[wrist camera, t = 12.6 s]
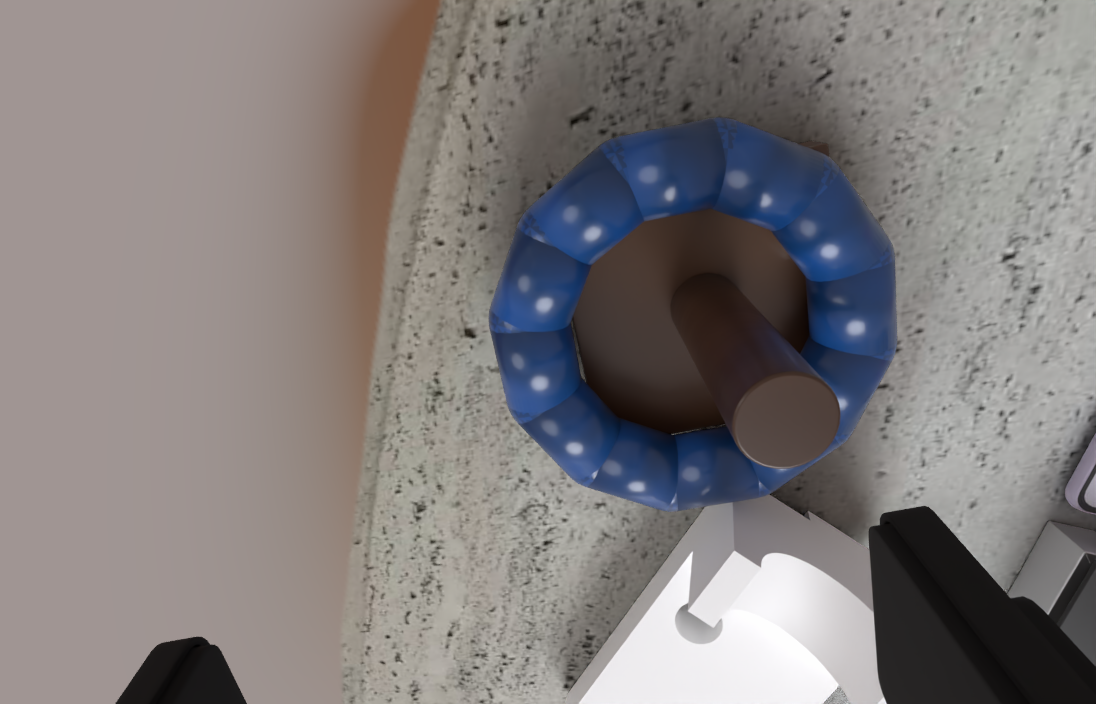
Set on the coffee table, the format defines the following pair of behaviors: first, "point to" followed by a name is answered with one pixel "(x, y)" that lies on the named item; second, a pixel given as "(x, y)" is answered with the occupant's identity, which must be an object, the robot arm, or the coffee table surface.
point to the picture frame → (1064, 582)
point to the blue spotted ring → (662, 191)
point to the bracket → (746, 617)
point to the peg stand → (707, 336)
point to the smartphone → (1084, 482)
